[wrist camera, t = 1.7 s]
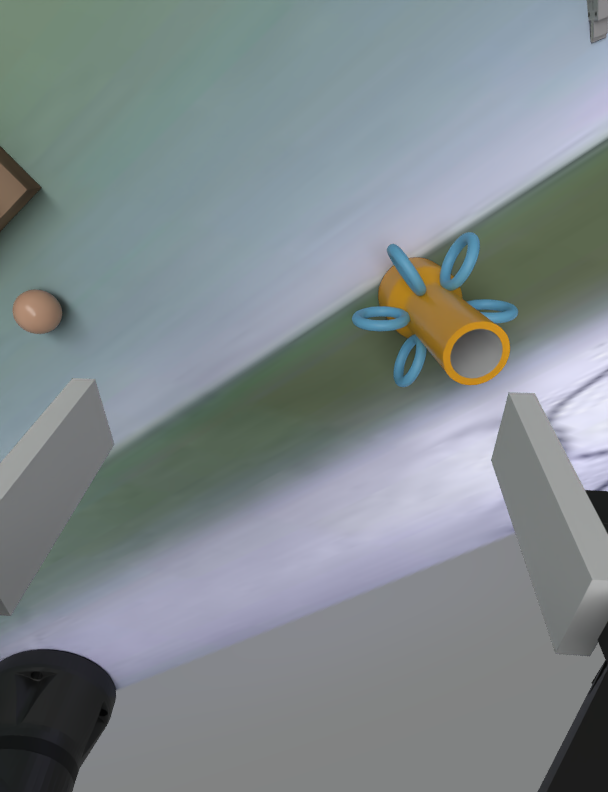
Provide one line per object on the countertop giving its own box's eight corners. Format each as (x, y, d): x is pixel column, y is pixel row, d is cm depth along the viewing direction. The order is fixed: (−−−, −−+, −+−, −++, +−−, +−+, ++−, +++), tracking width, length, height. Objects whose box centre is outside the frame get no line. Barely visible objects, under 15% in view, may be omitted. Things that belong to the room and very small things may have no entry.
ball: (50, 334, 43) (32, 348, 40) (15, 303, 42) (-6, 315, 39) (77, 308, 42) (62, 320, 39) (42, 276, 41) (23, 286, 38)
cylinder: (320, 272, 42) (345, 327, 29) (427, 191, 40) (508, 210, 26) (397, 378, 47) (449, 468, 33) (496, 311, 45) (595, 379, 31)
